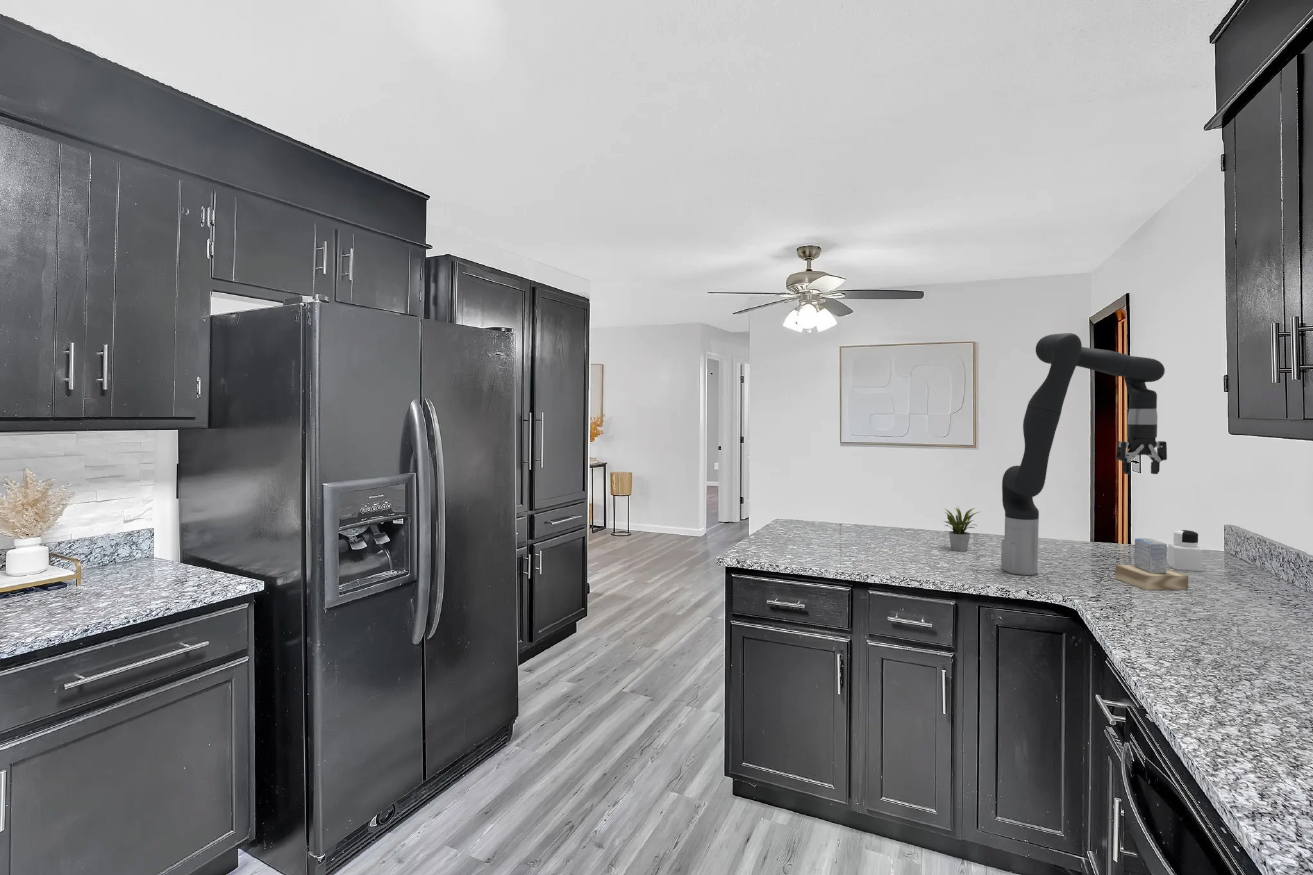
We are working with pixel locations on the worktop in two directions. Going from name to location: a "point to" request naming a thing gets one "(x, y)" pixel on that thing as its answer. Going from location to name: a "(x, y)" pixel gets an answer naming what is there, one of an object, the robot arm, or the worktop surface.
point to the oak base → (1152, 578)
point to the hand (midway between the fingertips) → (1140, 473)
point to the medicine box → (1150, 555)
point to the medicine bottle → (1185, 551)
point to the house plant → (959, 530)
